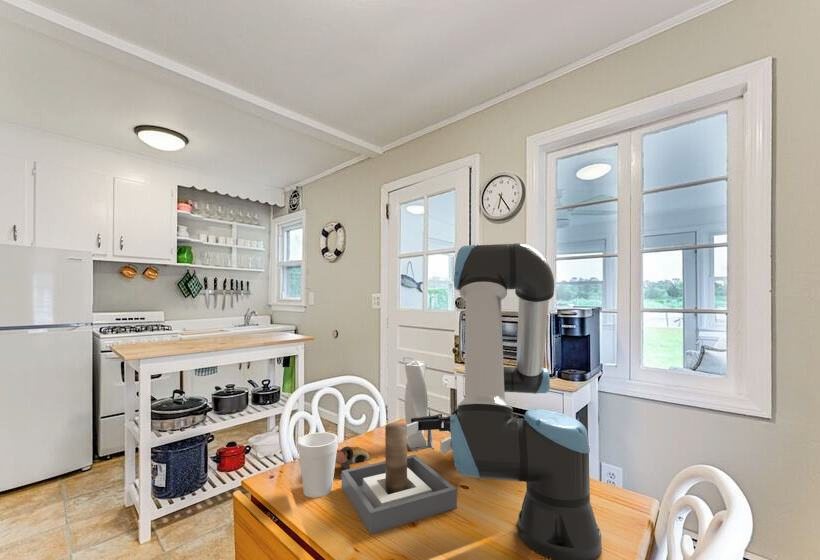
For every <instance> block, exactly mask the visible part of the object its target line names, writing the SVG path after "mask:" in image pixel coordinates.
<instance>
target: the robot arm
mask: <svg viewBox="0 0 820 560" xmlns="http://www.w3.org/2000/svg"><path fill="white" fill-rule="evenodd" d="M456 253H457V254H456V257H455V262H454V263H455V264H454V274H453V287H454V289H455V290H456V291H459V296H460V298H461V299H463V301H465V323H464V324H465V326H464V327H465V328H464V329H465V330H464V331H465V334H464V336H465V337H464V341H465V343H464V353H465V354H464V398H463V399H462V400H461V401H460V402H459V403H458V404H457V408H455V409H454V410H453V412H452V413H451V414H450V415H447V416H443V414H442V413H438V414H435V415H431V416H429V415H427V416H426V417H418V418H411V424H408V425H407V437H408V436H410V435H413V434H415V433H417V432H418V430H425V431H428V430H432V431H434V430H435V431H437V430H439V432H450V436H449V437H446V438H444V439H442V440H441V441H439V442H440V443H439V444H440V448H439V449H440V454H441V455H442V454H443V455H444V454H446V453H447V452H449V451H452V455H453V463H454V467H455V469H456V471H457V472H458V473H459V474H460V475H461V476H464V477H471V478H477V479H478V480H481V479H485V480H486V479H487V480H499V481H500V480H501V481H509V482H511V481H513V482H524V483H526V487H525V488H526V489H525V494H524V498H523V501H522V504H521V508H520V511H519V513H518V516H517V517H518V518H517V530H518V536H519V537H520V539H521V540H522V541H523V542H522V543H524V544H525V545H526V546H527V547H528V548H529V549H531V550H532V551H533V552H535V553H537V554H538V555H540V556H542V557H544V558H547V559H549V558H550V559H549V560H552V559H553V560H595V559H596V558H598V557H599V556H600V554H601V553H602V552H601V551H602V548H603V547H602V546H603V545H602V543H603V542H602V532H601V529H600V527H599V525H598V524H597V520H596V517H595V513H594V510H593V507H592V504H591V494H590V493H591V490H590V489H591V488H590V487H591V484H590V482H591V481H590V479H591V478H590V445H589V436H588V435H589V434H588V430H587V428H586V427H585V425H584V424H583V423H582V422H581V421H579V420H578V419H576V418H574V417H572V416H569V415H567V414H564V413H562V412H557V411H554V410H550V409H549V410H548V409H541V408H535V409H532V408H531V409H528V410H526V411H525V413H524V415H523V418H521V417H519V418H518V417H514V411H513V410H514V409H513V407H512V406H511V405H510V404H509V403H508V402H507V401H506V398H505V397H506V394H505V393H516V394H517V393H519V394H520V393H521V394H534V395H536V394H547V393H548V392H549V391H550V387H551V384H550V383H551V382H550V378H551V377H550V372H549V370H548V368H546V367H544V360H545V351H546V349H545V348H546V337H547V326H548V318H549V317H548V316H549V315H548V314H549V303H550V300H552V299H553V297H554V293H555V280H554V279H555V278H554V274H553V271H552V269H551V267H550V265H549V263H548V261H547V260H546V258H545V257H544V256H543V255H542V254H541V253H540V252H539V251H538V250H537V249H535V248H533V247H532V246H530V245H528V244H525V243H520V242H519V243H517V242H516V243H502V244H501V243H500V244H499V243H498V244H496V243H495V244H478V243H476V244H475V243H474V244H471V245H470V244H469V245H462V246H461V247H460V248H459V249H458V251H457V252H456ZM508 290H515V291H514V292H515V296H516V297H517V298H518V311H517V312H518V313H517V315H518V318H517V319H518V320H517V338H516V340H517V342H516V344H517V345H516V366H504V347H503V345H504V343H503V342H504V341H503V320H502V319H503V318H502V317H503V316H502V301H503V300H504V299H505V298H506V297H507V295H508ZM442 424H443V425H442ZM442 426H443V427H442Z"/></svg>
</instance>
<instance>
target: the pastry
mask: <svg viewBox="0 0 820 560" xmlns="http://www.w3.org/2000/svg"><path fill="white" fill-rule="evenodd" d="M350 447H351V449H352V450H353V459H352V461H351V463H350V465H349V466H351V465H356V464H360V463H364V462H369V461H370V458H371V457H370V455H369V453H368V451H367V450H366V449H365V448H362V447H359V446H350ZM345 455H346V457H347V452H346V454H345Z"/></svg>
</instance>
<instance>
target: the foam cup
mask: <svg viewBox="0 0 820 560" xmlns="http://www.w3.org/2000/svg"><path fill="white" fill-rule="evenodd" d="M338 448H339V437H338V435H337V434H335V433H333V432H327V431H325V432H324V431H323V432H322V431H321V432H312V433H311V432H310V433H307V434H306V435H303V436H301V437H300V438H298V439H297V454H298V457H299V466H300V472H301V481H302V490H303V495H304V496H306V497H307V498H312V499H313V498H314V499H315V498H321V497H325V496H327V495H328V494H330V493H331V491H332V490H333V485H334V484H333V483H334V475H335V468H336V454H337V450H338Z"/></svg>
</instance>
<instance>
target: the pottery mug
mask: <svg viewBox="0 0 820 560" xmlns="http://www.w3.org/2000/svg"><path fill="white" fill-rule="evenodd" d="M351 447H352V446H349V445H347V446H344V447H343V448H341V449H340V450H338V449H337V454H336V461H335V464H337V465H341V467H342V468H343V470H347V469H351V465H350V463H351V461H352V459H353V450H352V449H351ZM346 452H347V457H346V455H345V454H346ZM339 479H340V480H341V481H342V473H340V475H339Z"/></svg>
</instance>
